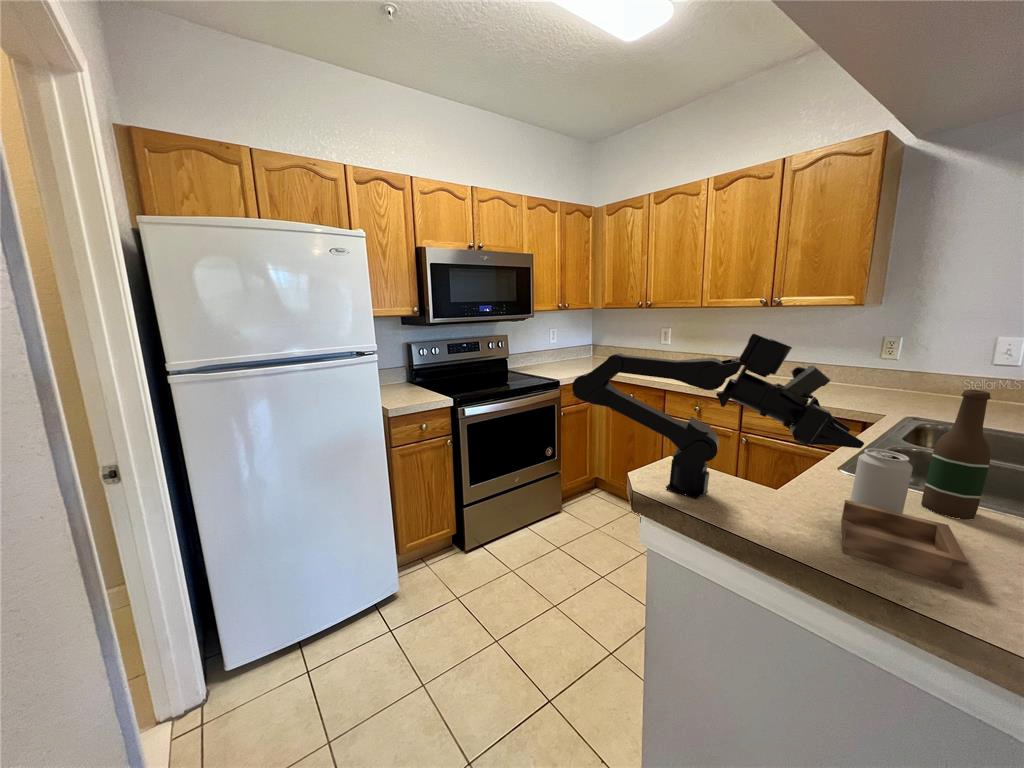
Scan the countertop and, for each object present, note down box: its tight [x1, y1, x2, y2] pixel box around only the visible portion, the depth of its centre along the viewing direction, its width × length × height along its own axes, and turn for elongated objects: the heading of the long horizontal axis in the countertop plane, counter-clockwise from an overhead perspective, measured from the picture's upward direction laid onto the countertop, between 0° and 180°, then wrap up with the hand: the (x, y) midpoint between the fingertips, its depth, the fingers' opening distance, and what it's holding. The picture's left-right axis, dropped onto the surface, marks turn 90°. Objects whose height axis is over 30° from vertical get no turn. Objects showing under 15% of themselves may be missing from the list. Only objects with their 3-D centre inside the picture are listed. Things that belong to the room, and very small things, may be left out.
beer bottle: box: [921, 389, 992, 520], centre depth 76 cm, size 8×8×24 cm
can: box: [849, 447, 914, 514], centre depth 75 cm, size 8×8×12 cm
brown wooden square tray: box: [840, 499, 970, 589], centre depth 64 cm, size 13×13×4 cm
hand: (855, 437), depth 69 cm, fingers open, 9 cm apart
